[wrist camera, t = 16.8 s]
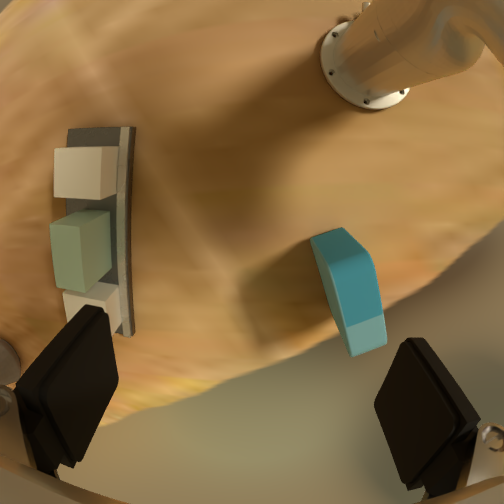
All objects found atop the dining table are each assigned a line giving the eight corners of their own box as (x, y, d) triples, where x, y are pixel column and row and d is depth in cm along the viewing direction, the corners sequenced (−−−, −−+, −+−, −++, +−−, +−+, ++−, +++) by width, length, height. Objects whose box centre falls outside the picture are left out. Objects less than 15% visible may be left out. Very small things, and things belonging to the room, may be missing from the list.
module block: (82, 209, 37) (49, 223, 29) (109, 211, 37) (79, 226, 29) (85, 263, 39) (56, 287, 32) (111, 267, 39) (85, 292, 32)
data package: (359, 300, 42) (389, 349, 31) (330, 311, 43) (352, 363, 31) (340, 223, 38) (373, 255, 27) (307, 235, 39) (328, 271, 28)
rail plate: (73, 129, 34) (66, 129, 32) (136, 127, 34) (131, 126, 33) (81, 320, 44) (77, 325, 42) (135, 332, 44) (131, 338, 43)
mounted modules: (75, 146, 34) (54, 148, 29) (120, 146, 34) (102, 147, 29) (83, 312, 42) (69, 329, 37) (122, 321, 42) (110, 339, 37)
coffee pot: (9, 374, 50) (-22, 412, 36) (-16, 334, 47) (-52, 369, 33) (62, 371, 48) (27, 421, 34) (32, 322, 45) (-13, 368, 30)
